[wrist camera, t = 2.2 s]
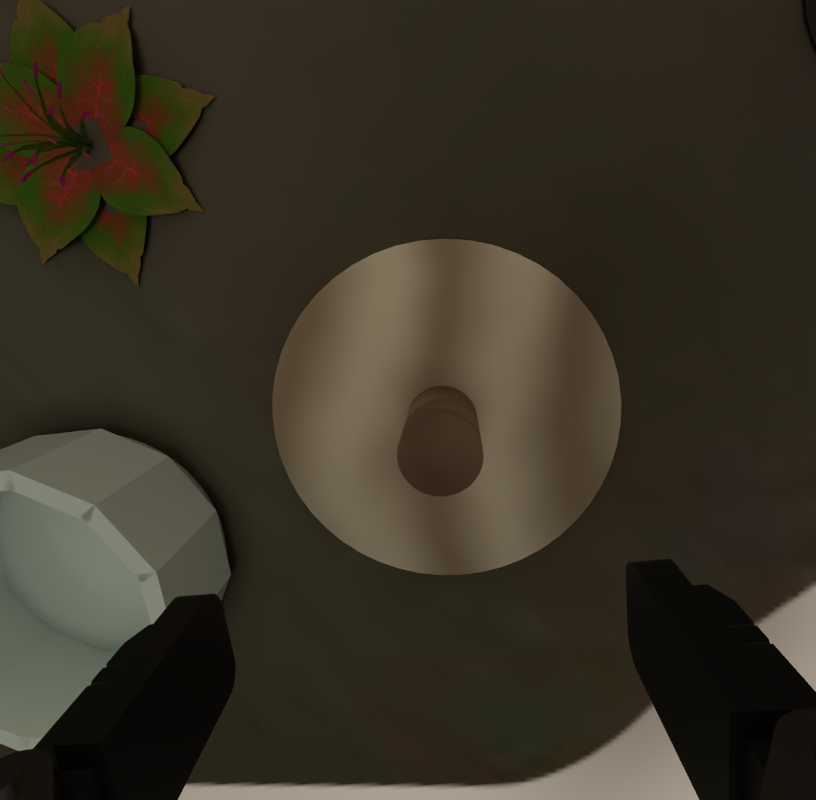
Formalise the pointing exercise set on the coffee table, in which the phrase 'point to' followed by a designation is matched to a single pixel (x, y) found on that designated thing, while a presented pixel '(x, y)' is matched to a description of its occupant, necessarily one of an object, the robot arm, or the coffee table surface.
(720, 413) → the coffee table surface
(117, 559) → the bowl
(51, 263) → the coffee table surface
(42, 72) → the lily flower
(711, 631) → the robot arm
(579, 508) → the lid
